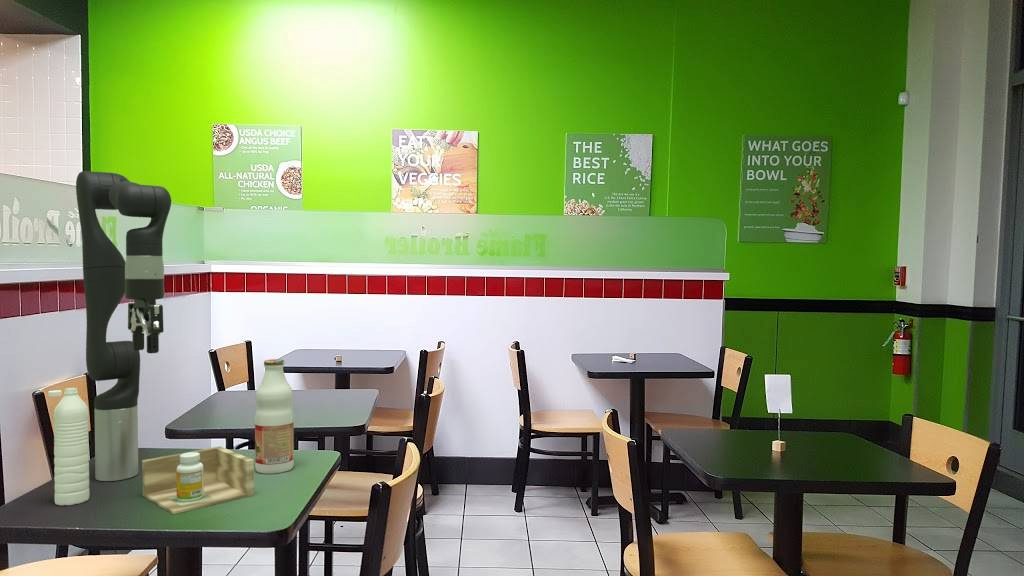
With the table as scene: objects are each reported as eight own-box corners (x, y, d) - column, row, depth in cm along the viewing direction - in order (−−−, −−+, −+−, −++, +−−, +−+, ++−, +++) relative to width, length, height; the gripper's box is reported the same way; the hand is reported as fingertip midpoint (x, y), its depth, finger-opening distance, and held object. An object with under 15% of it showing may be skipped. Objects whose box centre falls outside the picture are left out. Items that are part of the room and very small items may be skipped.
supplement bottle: (182, 494, 156) (181, 451, 156) (207, 494, 157) (206, 451, 156) (172, 502, 151) (172, 457, 150) (198, 502, 151) (198, 457, 151)
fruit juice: (278, 476, 173) (278, 363, 172) (247, 472, 176) (246, 361, 175) (301, 466, 182) (300, 358, 181) (270, 462, 185) (270, 357, 184)
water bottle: (71, 495, 157) (70, 385, 157) (96, 497, 156) (95, 385, 155) (38, 508, 149) (36, 391, 148) (64, 510, 147) (63, 392, 147)
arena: (142, 495, 157) (142, 460, 157) (220, 479, 170) (219, 446, 170) (173, 514, 145) (172, 476, 145) (254, 495, 158) (253, 459, 158)
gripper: (175, 277, 149) (176, 352, 150) (151, 276, 159) (151, 347, 160) (137, 277, 144) (138, 355, 144) (114, 276, 154) (115, 350, 154)
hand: (145, 351), depth 152 cm, fingers open, 8 cm apart
